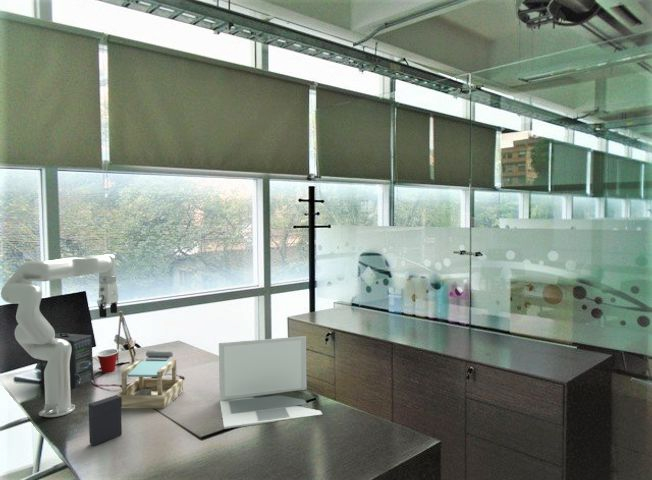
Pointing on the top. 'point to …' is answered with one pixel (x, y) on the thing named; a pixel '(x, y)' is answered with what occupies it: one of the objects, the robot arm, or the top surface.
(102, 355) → the plastic cup
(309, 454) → the top surface
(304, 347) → the laptop
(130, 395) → the tan crate frame
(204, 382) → the top surface
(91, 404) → the calculator
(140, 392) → the basalt block
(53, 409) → the robot arm
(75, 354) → the headset box
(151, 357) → the hatch
